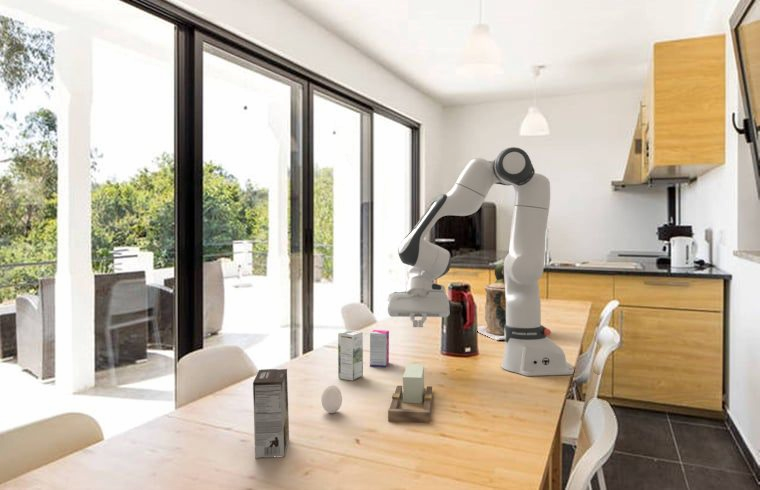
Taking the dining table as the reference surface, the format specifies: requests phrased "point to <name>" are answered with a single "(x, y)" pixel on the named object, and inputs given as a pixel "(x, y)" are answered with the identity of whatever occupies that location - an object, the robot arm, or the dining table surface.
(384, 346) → the supplement box
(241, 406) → the dining table surface
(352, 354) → the syrup box
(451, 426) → the dining table surface
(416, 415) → the slot track
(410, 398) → the block
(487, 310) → the cookie jar
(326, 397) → the egg
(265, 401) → the coffee box
